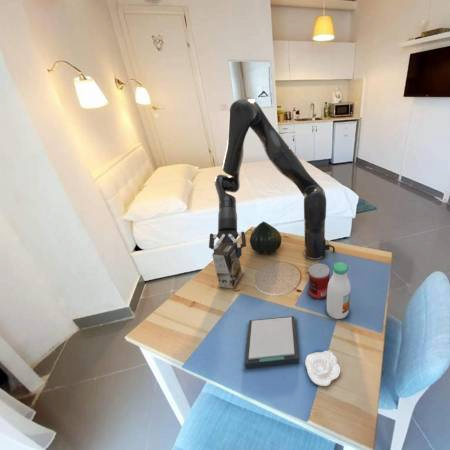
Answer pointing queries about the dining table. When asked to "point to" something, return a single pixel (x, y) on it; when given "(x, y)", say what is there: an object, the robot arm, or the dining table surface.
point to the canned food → (318, 280)
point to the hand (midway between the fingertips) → (227, 258)
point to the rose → (322, 367)
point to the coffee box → (227, 265)
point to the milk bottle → (338, 292)
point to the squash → (265, 239)
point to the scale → (271, 342)
